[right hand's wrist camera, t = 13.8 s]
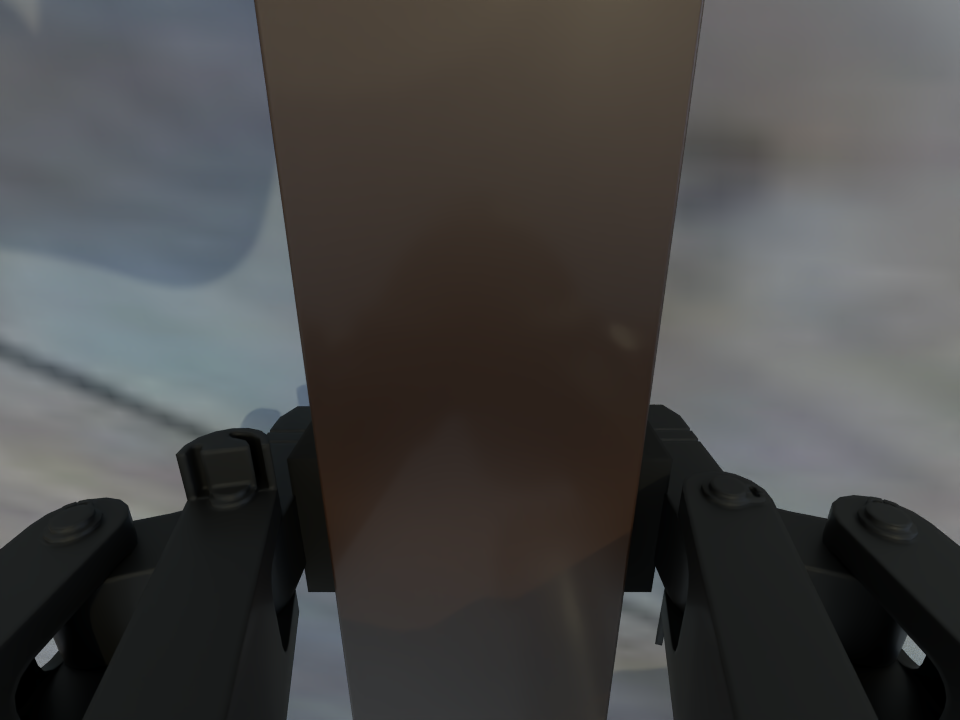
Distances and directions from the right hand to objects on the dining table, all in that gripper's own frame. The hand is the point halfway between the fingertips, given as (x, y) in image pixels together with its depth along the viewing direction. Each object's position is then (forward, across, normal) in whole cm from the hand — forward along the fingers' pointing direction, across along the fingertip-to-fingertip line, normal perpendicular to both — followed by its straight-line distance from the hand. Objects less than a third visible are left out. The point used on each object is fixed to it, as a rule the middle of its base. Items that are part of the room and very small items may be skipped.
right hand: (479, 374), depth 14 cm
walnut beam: (0, 0, -11) cm, 11 cm away
